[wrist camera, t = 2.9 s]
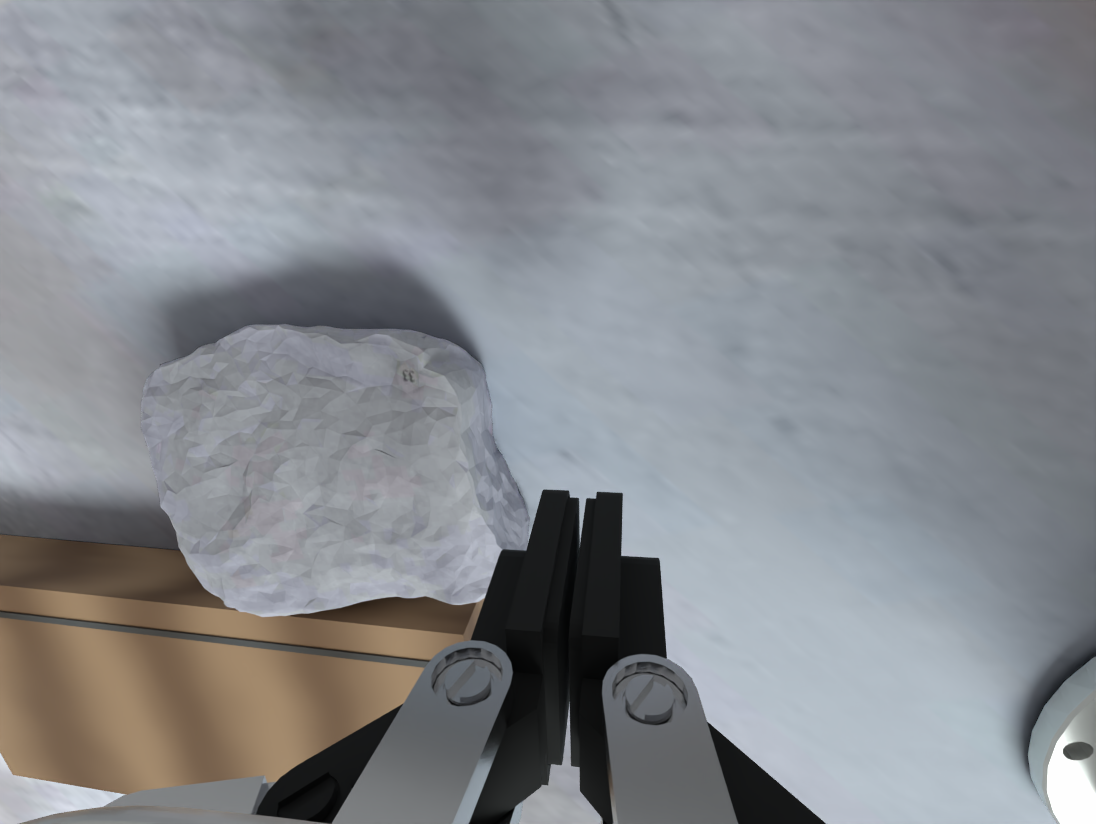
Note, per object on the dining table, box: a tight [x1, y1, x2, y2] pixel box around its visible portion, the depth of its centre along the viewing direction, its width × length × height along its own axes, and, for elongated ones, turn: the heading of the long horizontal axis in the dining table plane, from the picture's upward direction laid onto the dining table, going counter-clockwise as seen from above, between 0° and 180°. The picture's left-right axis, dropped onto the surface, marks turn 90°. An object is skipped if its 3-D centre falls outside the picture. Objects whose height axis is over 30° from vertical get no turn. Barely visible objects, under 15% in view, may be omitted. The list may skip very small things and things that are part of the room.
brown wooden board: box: [0, 535, 485, 795], centre depth 25 cm, size 24×12×3 cm, turn 92°
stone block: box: [141, 324, 530, 617], centre depth 20 cm, size 12×5×10 cm
